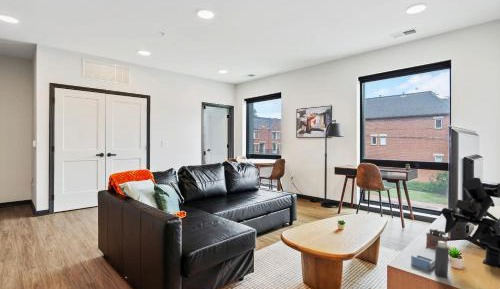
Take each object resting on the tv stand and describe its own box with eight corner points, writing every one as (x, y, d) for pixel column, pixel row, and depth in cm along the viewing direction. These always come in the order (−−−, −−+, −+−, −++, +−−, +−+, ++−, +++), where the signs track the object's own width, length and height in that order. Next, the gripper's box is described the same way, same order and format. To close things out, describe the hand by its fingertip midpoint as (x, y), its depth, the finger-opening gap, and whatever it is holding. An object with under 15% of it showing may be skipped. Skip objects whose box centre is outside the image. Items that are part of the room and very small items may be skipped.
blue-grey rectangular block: (427, 253, 119) (427, 245, 119) (444, 258, 114) (444, 250, 114) (411, 264, 108) (411, 256, 108) (429, 270, 103) (429, 262, 103)
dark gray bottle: (436, 271, 103) (437, 239, 102) (449, 275, 100) (450, 242, 99) (432, 274, 100) (434, 241, 100) (445, 278, 97) (447, 245, 97)
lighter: (424, 249, 123) (425, 228, 123) (427, 247, 125) (427, 226, 125) (445, 255, 117) (446, 233, 117) (447, 253, 119) (448, 231, 119)
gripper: (445, 188, 112) (424, 215, 109) (498, 198, 95) (476, 231, 91) (456, 206, 115) (437, 233, 112) (510, 218, 97) (489, 251, 94)
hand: (457, 236), depth 102 cm, fingers open, 9 cm apart
